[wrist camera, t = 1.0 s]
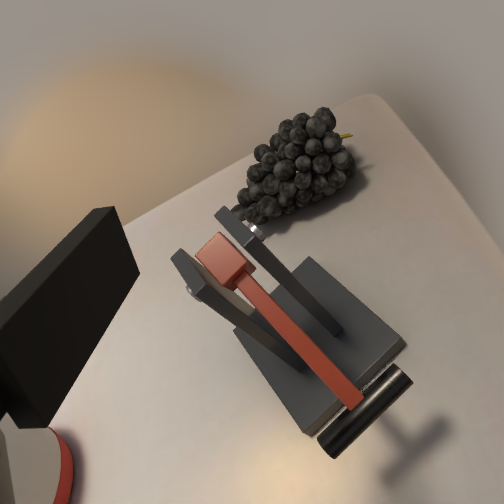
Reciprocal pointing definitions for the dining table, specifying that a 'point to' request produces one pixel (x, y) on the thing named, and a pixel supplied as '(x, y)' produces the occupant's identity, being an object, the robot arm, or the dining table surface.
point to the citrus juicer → (38, 464)
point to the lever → (307, 350)
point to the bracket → (306, 317)
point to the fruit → (295, 168)
